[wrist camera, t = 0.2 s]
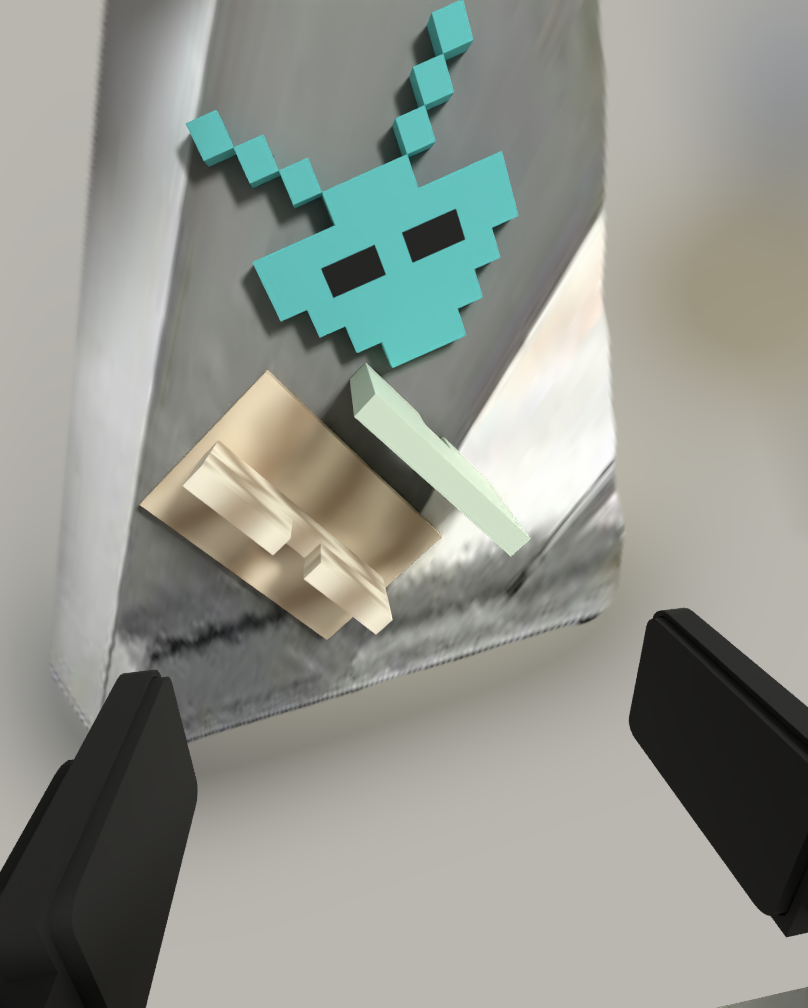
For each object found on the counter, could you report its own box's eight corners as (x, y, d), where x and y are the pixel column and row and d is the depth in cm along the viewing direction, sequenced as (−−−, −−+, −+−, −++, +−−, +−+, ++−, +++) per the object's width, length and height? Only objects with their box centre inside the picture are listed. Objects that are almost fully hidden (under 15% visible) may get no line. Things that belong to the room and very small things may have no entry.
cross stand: (144, 499, 44) (108, 541, 37) (267, 369, 42) (256, 386, 34) (326, 632, 53) (328, 689, 45) (438, 531, 50) (459, 573, 42)
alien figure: (193, 133, 35) (318, 395, 43) (185, 123, 33) (318, 400, 41) (454, 15, 35) (530, 302, 43) (462, -2, 33) (540, 302, 41)
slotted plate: (349, 379, 43) (354, 416, 32) (365, 362, 42) (375, 393, 32) (472, 493, 49) (510, 556, 38) (487, 478, 48) (530, 538, 38)
